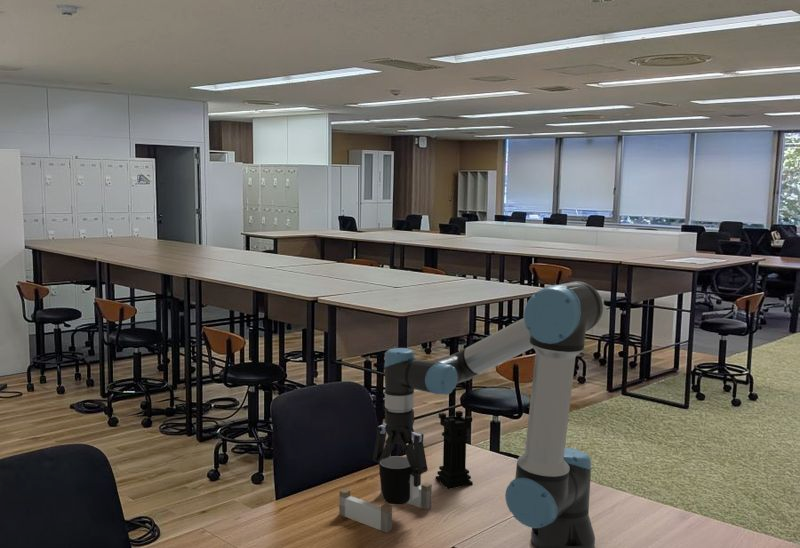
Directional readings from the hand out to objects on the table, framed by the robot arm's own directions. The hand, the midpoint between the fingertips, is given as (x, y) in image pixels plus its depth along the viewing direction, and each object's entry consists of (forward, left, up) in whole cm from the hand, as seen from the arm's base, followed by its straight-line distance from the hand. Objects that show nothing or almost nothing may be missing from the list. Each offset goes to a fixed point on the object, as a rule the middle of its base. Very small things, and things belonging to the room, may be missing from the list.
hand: (399, 493), depth 187 cm
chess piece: (+2, -28, -6) cm, 29 cm away
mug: (+1, 0, -2) cm, 2 cm away
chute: (+5, 0, -6) cm, 8 cm away
